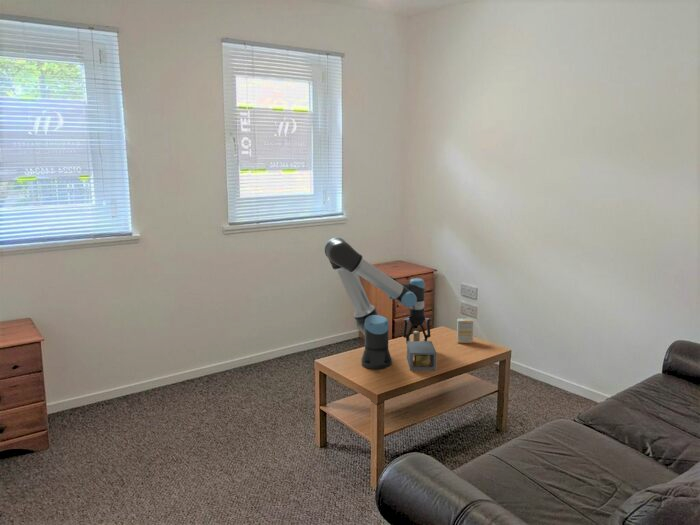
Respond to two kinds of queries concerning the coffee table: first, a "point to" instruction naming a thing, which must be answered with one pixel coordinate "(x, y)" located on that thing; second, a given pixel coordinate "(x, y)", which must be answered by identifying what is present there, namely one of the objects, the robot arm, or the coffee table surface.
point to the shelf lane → (421, 353)
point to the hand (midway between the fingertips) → (416, 349)
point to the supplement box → (464, 330)
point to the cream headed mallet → (419, 359)
